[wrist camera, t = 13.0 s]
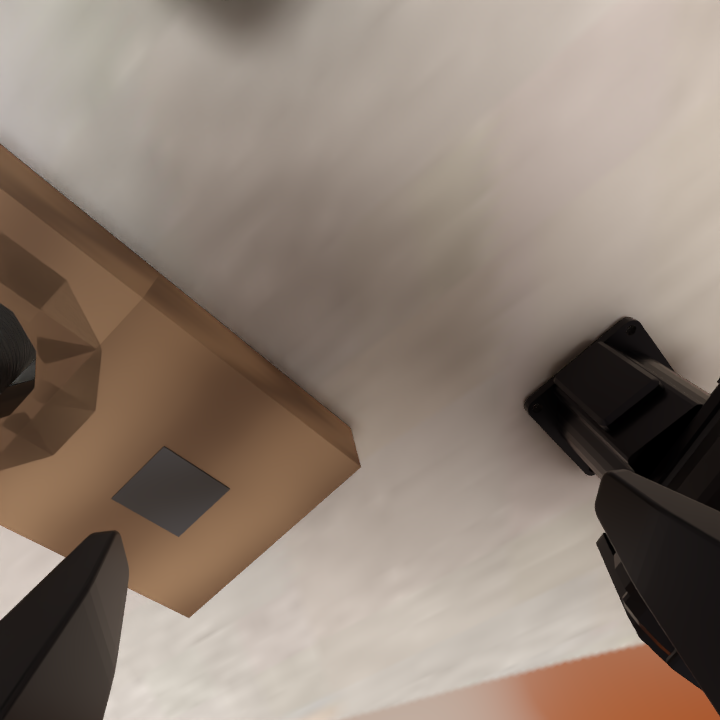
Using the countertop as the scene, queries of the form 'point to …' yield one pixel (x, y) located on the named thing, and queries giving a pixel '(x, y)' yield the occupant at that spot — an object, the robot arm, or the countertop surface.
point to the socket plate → (145, 411)
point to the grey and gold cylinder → (13, 348)
